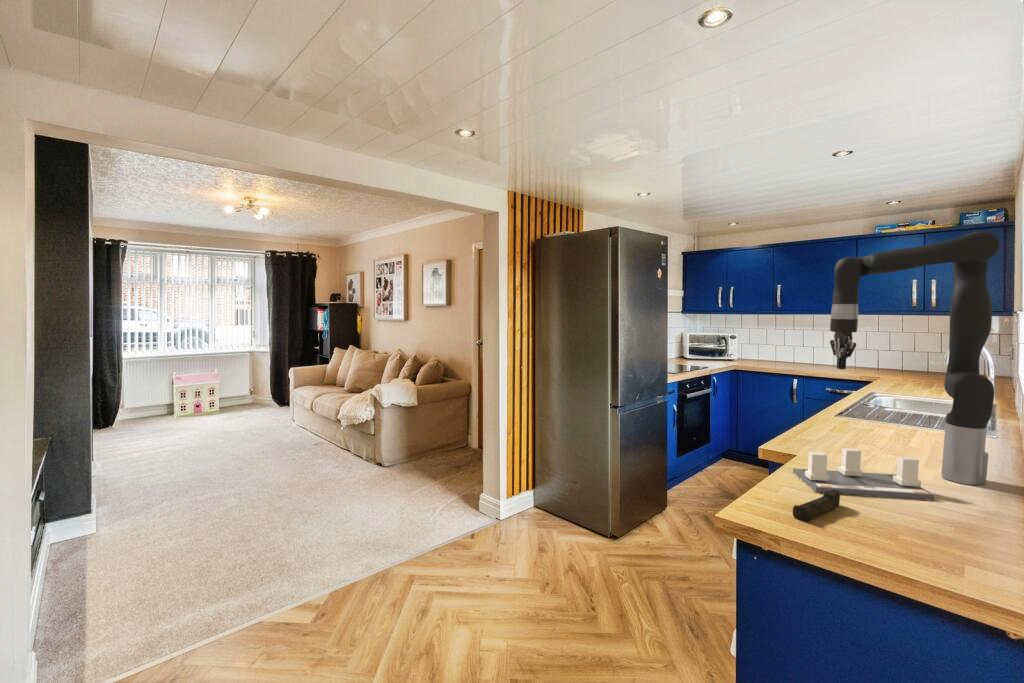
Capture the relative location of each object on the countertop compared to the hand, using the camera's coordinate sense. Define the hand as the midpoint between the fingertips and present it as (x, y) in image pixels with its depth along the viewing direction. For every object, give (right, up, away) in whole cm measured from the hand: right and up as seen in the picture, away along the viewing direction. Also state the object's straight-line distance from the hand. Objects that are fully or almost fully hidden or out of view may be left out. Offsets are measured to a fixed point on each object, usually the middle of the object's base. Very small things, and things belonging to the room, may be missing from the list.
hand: (841, 368), depth 163 cm
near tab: (+4, -32, -22) cm, 39 cm away
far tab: (-20, -32, -19) cm, 42 cm away
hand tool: (-32, -35, -37) cm, 60 cm away
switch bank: (-8, -34, -19) cm, 40 cm away
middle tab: (-7, -31, -15) cm, 35 cm away
